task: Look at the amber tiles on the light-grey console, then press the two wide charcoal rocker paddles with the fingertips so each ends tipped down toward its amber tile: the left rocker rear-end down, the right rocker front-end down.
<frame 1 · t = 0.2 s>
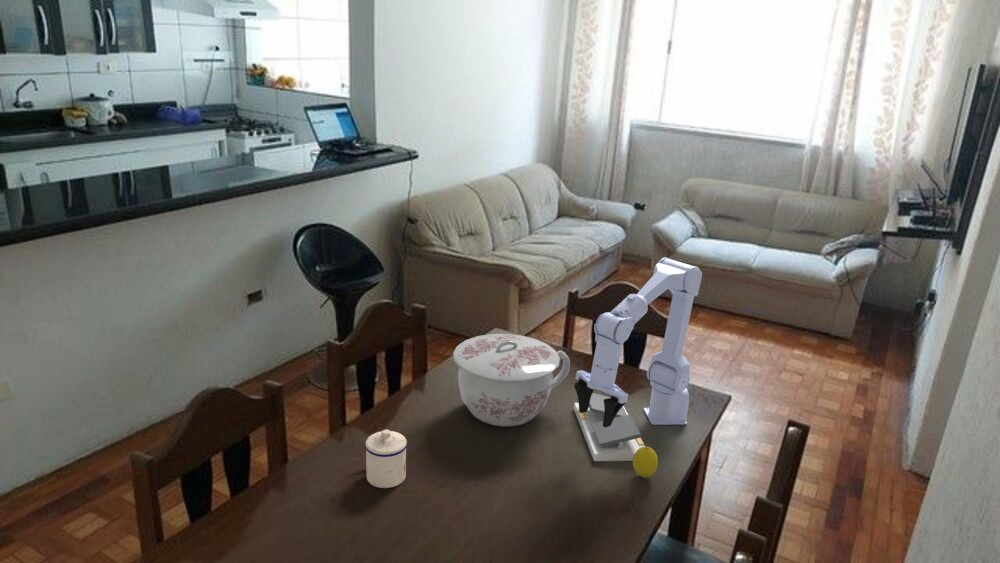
hand: (594, 418, 162), 10 cm above the table, tool pointing down, fingers open, 7 cm apart
rocker b: (615, 431, 169), point 4 cm above the table, hinge at 15.0°
rocker a: (604, 406, 181), point 4 cm above the table, hinge at -15.0°
chamber pot: (504, 413, 183), on the table
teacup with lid: (383, 474, 156), on the table
console: (608, 433, 176), on the table
lemon: (643, 477, 160), on the table
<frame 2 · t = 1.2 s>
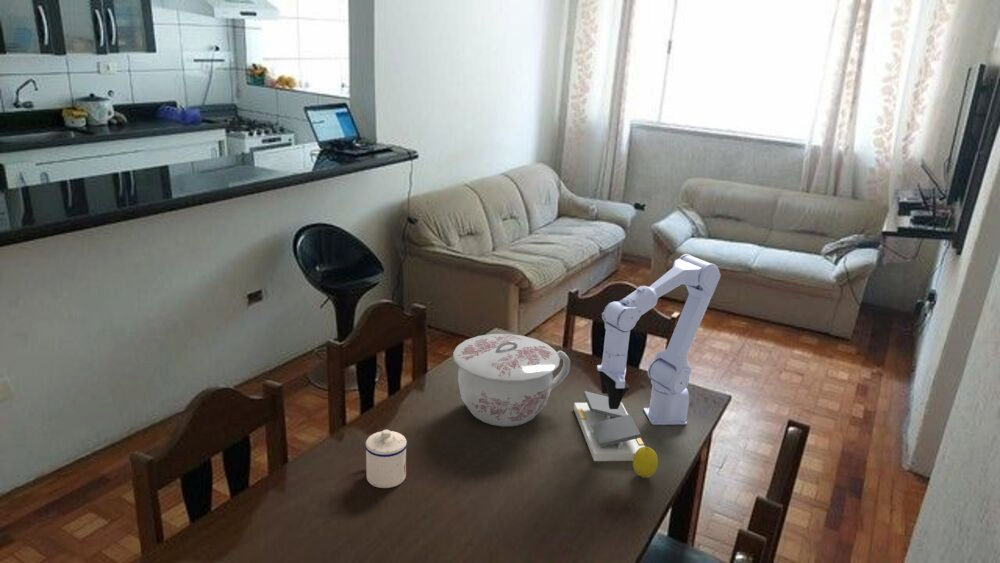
hand: (609, 400, 172), 10 cm above the table, tool pointing down, fingers open, 7 cm apart
nothing on the table moved.
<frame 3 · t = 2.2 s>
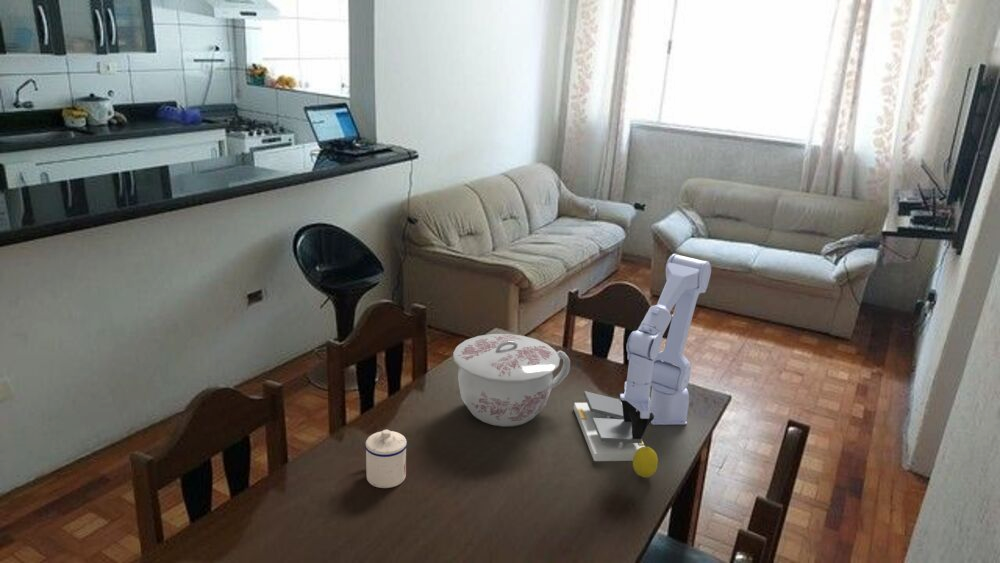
hand: (632, 429, 170), 5 cm above the table, tool pointing down, fingers open, 7 cm apart
rocker b: (616, 431, 169), point 4 cm above the table, hinge at -4.4°, touching gripper
everything else where it was.
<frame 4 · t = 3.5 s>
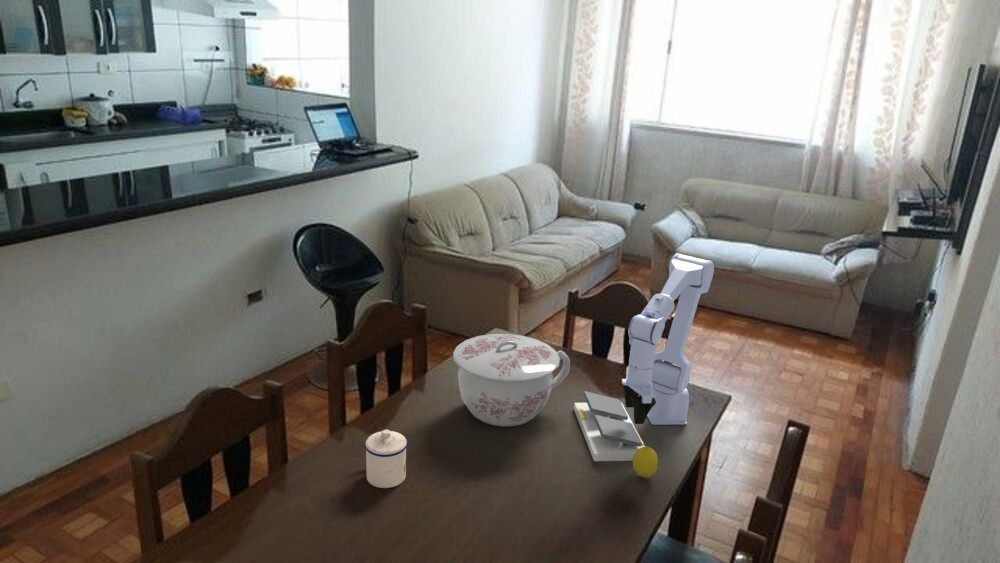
hand: (634, 414, 168), 9 cm above the table, tool pointing down, fingers open, 7 cm apart
rocker b: (616, 431, 169), point 4 cm above the table, hinge at -15.1°
everything else where it was.
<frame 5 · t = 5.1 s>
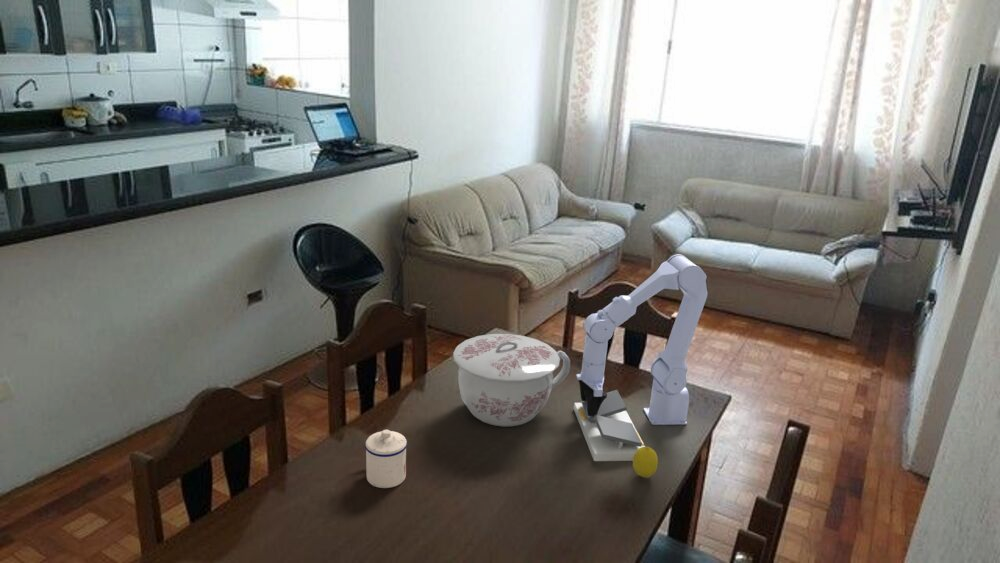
hand: (588, 407, 180), 4 cm above the table, tool pointing down
rocker a: (603, 406, 181), point 4 cm above the table, hinge at 19.9°, touching gripper
everything else where it was.
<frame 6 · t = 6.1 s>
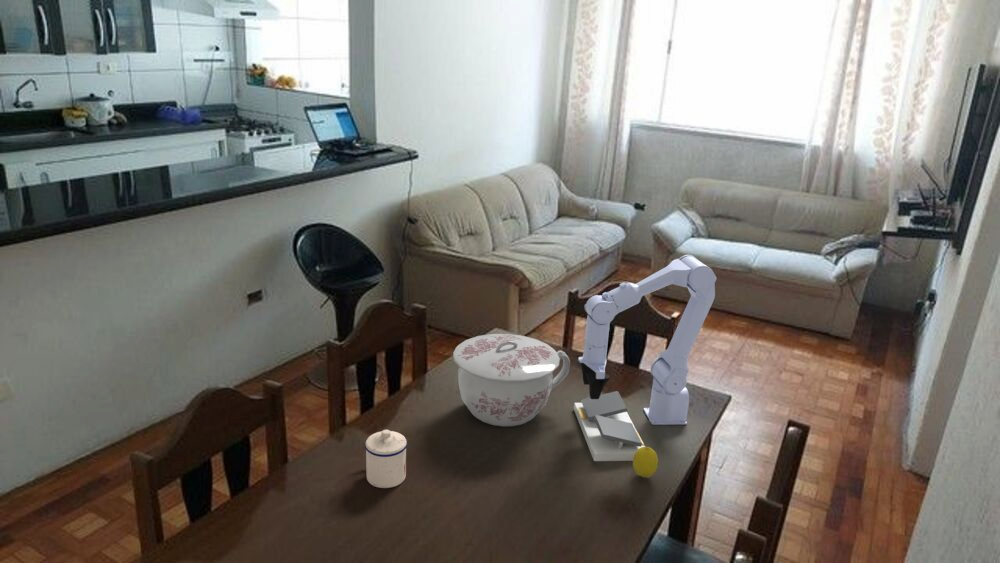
hand: (591, 391, 179), 9 cm above the table, tool pointing down, fingers open, 7 cm apart
rocker a: (603, 406, 181), point 4 cm above the table, hinge at 15.1°
everything else where it was.
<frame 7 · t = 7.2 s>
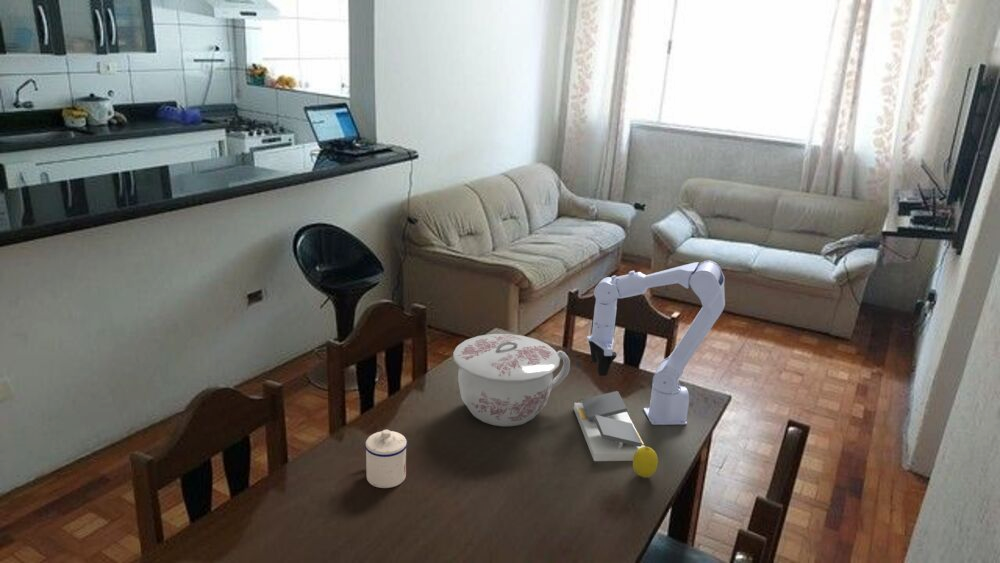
hand: (599, 368, 189), 10 cm above the table, tool pointing down, fingers open, 7 cm apart
nothing on the table moved.
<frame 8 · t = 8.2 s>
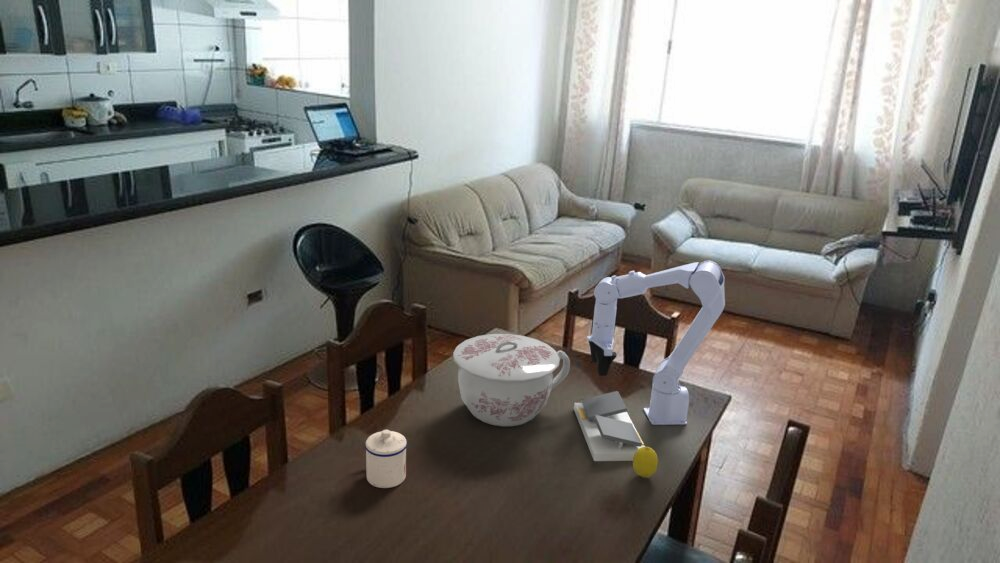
hand: (599, 368, 189), 10 cm above the table, tool pointing down, fingers open, 7 cm apart
nothing on the table moved.
at the end: rocker b at -15° (first picture: +15°); rocker a at +15° (first picture: -15°) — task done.
